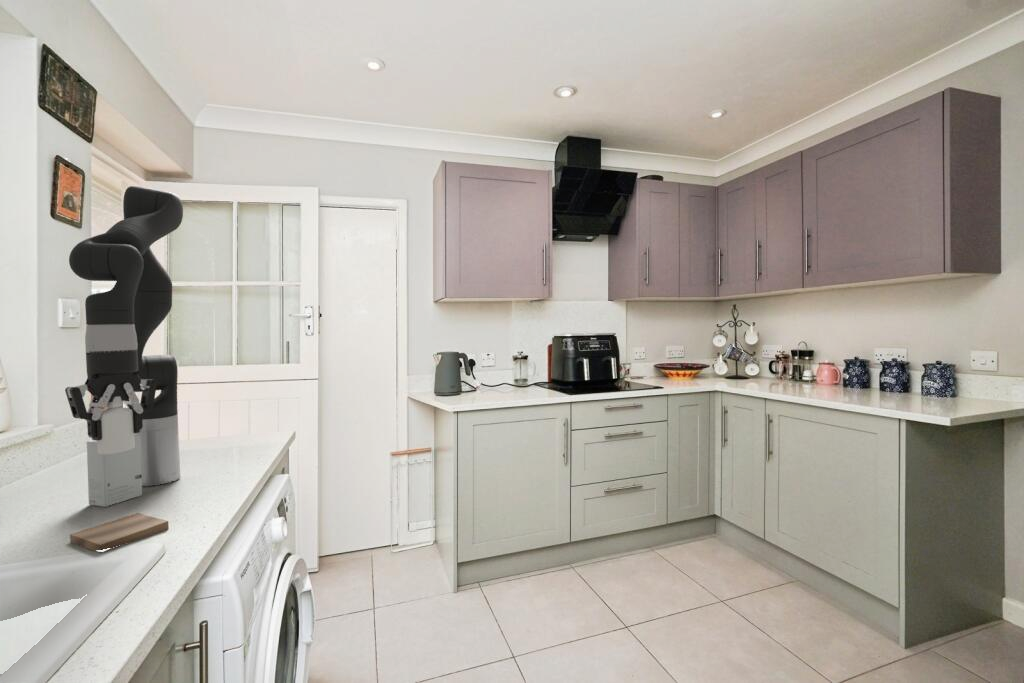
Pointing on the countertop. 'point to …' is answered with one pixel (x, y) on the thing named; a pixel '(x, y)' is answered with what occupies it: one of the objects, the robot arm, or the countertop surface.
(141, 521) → the walnut board
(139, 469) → the skincare box
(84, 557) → the countertop surface
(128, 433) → the eye dropper bottle
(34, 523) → the countertop surface
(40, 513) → the countertop surface
